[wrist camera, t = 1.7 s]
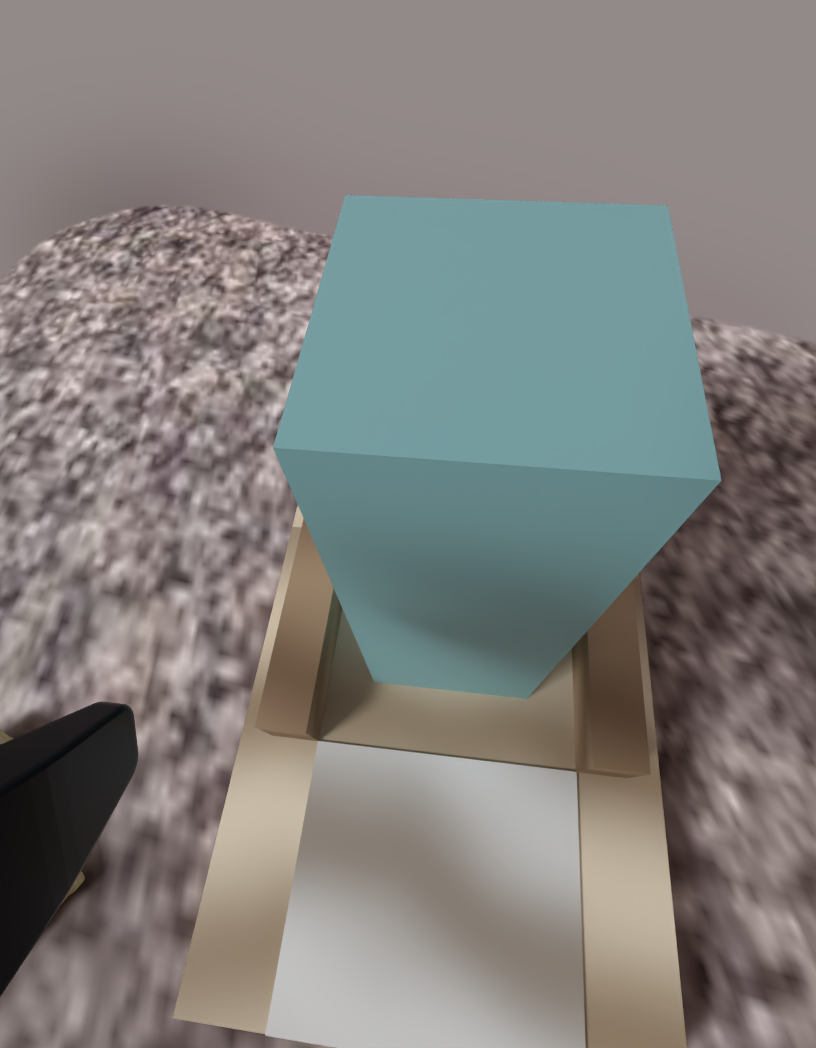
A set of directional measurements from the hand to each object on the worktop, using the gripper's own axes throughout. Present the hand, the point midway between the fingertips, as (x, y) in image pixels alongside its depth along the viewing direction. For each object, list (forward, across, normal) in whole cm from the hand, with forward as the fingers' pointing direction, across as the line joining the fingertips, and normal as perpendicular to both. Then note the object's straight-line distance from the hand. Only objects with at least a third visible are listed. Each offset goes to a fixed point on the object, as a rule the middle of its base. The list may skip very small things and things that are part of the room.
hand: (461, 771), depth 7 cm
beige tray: (+12, 0, +5) cm, 13 cm away
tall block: (+11, 0, +4) cm, 12 cm away
